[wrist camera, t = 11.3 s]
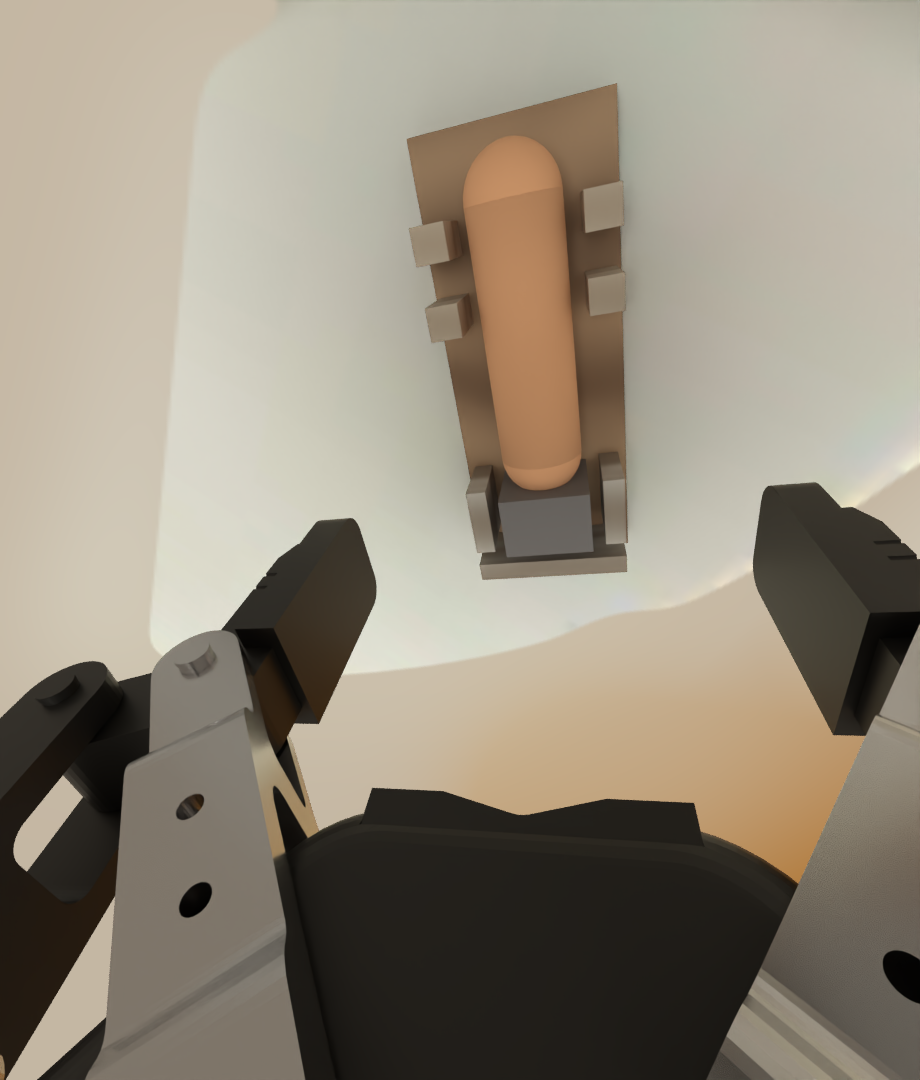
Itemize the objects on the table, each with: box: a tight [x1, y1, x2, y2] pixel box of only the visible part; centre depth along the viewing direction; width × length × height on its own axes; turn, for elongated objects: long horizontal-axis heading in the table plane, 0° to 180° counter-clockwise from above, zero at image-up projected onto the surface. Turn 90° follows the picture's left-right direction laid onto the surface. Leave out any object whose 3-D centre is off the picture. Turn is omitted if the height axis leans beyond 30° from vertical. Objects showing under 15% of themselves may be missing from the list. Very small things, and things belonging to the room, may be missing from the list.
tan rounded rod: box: [463, 135, 594, 557], centre depth 24 cm, size 18×4×4 cm, turn 10°
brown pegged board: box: [407, 83, 628, 580], centre depth 25 cm, size 21×9×5 cm, turn 10°
